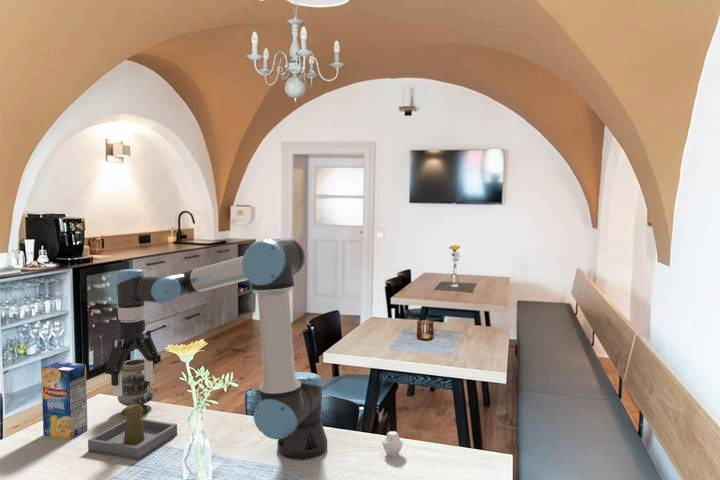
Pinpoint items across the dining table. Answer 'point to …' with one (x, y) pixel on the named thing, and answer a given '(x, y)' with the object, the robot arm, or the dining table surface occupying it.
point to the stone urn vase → (135, 385)
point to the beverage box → (64, 399)
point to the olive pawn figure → (134, 425)
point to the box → (115, 446)
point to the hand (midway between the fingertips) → (134, 388)
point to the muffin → (392, 443)
